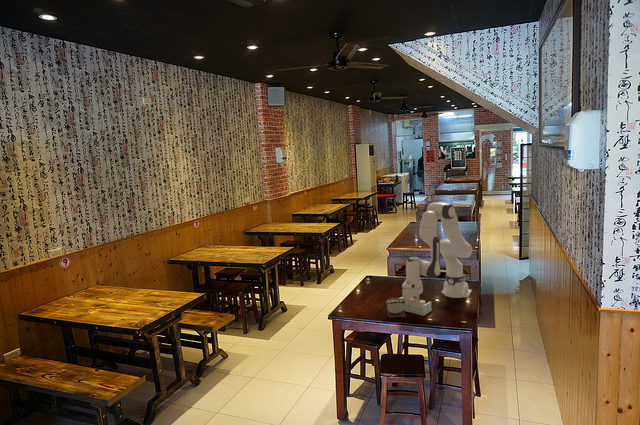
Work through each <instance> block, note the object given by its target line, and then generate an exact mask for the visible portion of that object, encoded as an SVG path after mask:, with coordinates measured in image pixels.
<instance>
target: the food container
mask: <svg viewBox="0 0 640 425" xmlns="http://www.w3.org/2000/svg"><path fill="white" fill-rule="evenodd" d="M399 298H400V297H398V298H397V297H396V298H395V297H392V298H389V299H387V300H386V302H385V305H386V306H387V315H388V318H396V317H397V318H398V317H400V318H401V317H404V315H405V311H404V307H405V304H406V302H405V300H403V299H399Z"/></svg>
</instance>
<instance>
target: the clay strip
mask: <svg viewBox="0 0 640 425" xmlns="http://www.w3.org/2000/svg"><path fill="white" fill-rule="evenodd" d="M415 298H416V297H414V298H412V299H411V300H410V302H411V305H410V306H409V305H408V302H407V300H405V302H406V304H405V306H407V307H411V308H415V309H420V310H422V306H423V305H425V304H426V300H424V299H420V298H419V299H415ZM402 299H403V298H402ZM403 300H404V299H403Z"/></svg>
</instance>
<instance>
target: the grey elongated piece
mask: <svg viewBox="0 0 640 425" xmlns="http://www.w3.org/2000/svg"><path fill="white" fill-rule="evenodd" d="M398 298H399V299H402V298H403V295H402V296H401V297H398ZM404 312H408V313H411V314H416V315H419V316H426V315H428V314H429V313H431V312H432V301H428V302H425V305H423V306H422V310H420V309H415V308H411V307H407V306H405V307H404Z"/></svg>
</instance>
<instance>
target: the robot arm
mask: <svg viewBox="0 0 640 425" xmlns="http://www.w3.org/2000/svg"><path fill="white" fill-rule="evenodd" d="M439 220H440V223H441V224H440V225H441V229H442V232H443V236H444V237H445V238H446V239H441V240H440V239H439V237H438V234H437V232H438V231H437V230H438V222H439ZM418 236H419V239H421V240H422V241H423V242H424V243H426V244H427V245H428V246H429V247H430V261H428V260H424V259H421V258H419V257H418V256H410V257H408V258H407V259H406V263H405V273H406V277H405V280H404V281H403V283H402V285H401V286H402V287H401V288H402V296H403V299H404V300H407V302H408V305H409V306H410V305H411V302H410V300H411V299H412V298H415V299H419V300H420V294H423V291H424V286H423V282H422V279H421V276H424V277H427V278H431V279H433V280H434V279H436V278H439V276H440V275H441V272H442V269H441V256H442V257H443V259H444V261H445V266H446V268H445V270H446V272H445V281H444V282H443V290H441V293H442V294H443V295H444V296H445V297H448V298H451V299H452V298H453V299H457V298H458V299H461V298H468V297H469V296H470V295H471V293H472V289H469V284H468V283H467V282H466V281H465V278H466V274H464V268H463V267H464V266H463V263H462V262H461V261H460V260H459V259H458V258H460V259H463V258H465V259H466V258H469V257H471V255H472V254H473V247H472V244H470V243H469V242H468V241H467V240H466V238H464V236H463V234H462V232H461V229H460V224H459V219H458V216H457V212H456V207H455V206H454V205H453V204H451V203H448V202H440V201H439V202H427V203H425V205H424V207H423V213H422V216H421V218H420V223H419V229H418Z"/></svg>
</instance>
